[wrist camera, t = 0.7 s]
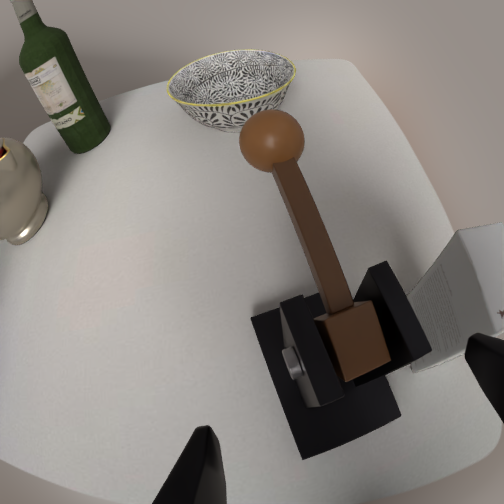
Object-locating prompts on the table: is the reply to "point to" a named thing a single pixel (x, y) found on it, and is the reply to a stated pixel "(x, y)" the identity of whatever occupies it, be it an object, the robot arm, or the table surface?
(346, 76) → the table surface
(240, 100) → the bowl
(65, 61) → the wine bottle
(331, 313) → the lever
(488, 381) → the robot arm
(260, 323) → the bracket
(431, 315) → the cosmetic box
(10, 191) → the teapot
